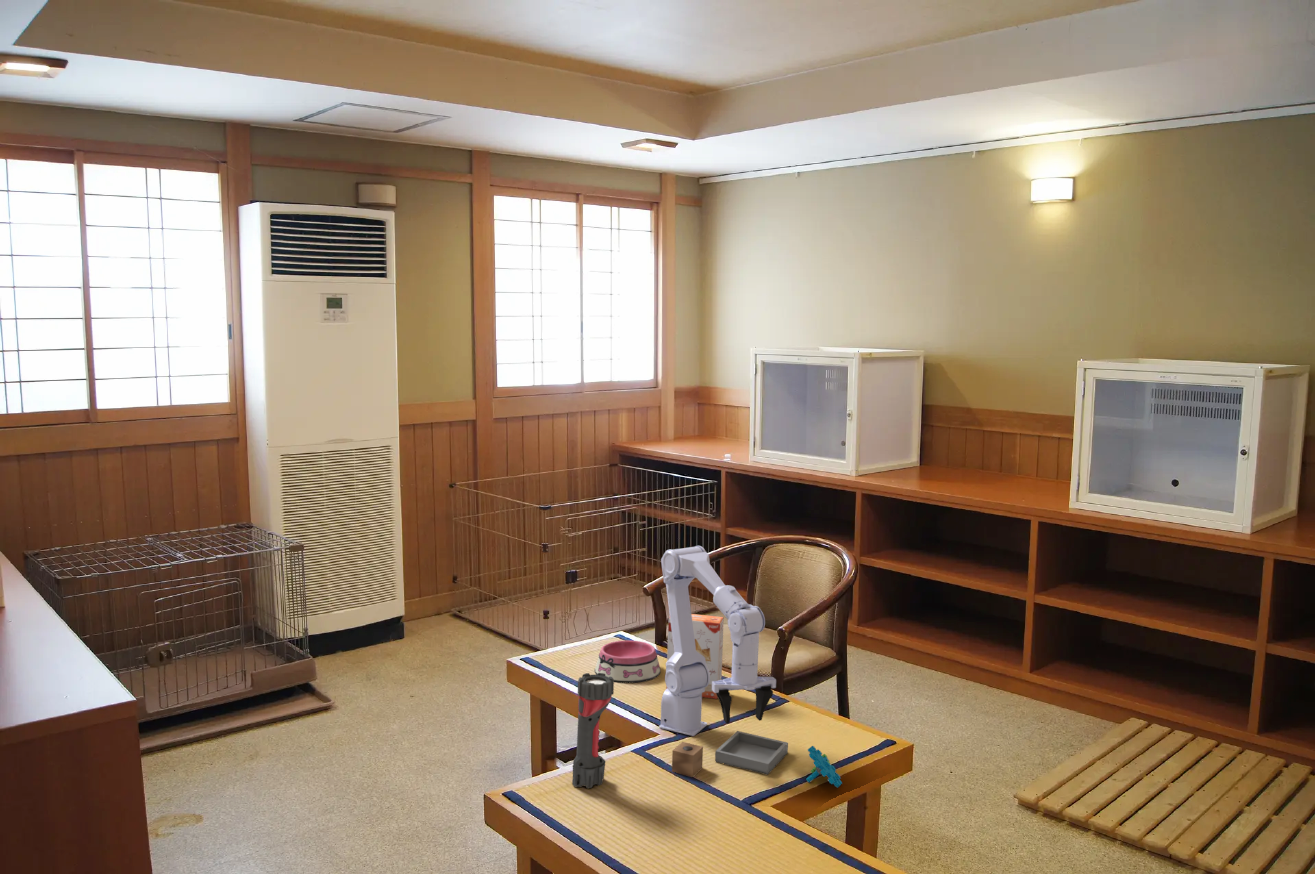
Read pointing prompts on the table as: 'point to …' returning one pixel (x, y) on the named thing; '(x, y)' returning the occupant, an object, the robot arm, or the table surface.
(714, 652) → the cracker box
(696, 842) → the table surface
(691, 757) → the walnut block
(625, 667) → the dog bowl
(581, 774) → the flashlight
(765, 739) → the tray
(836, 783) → the gear
